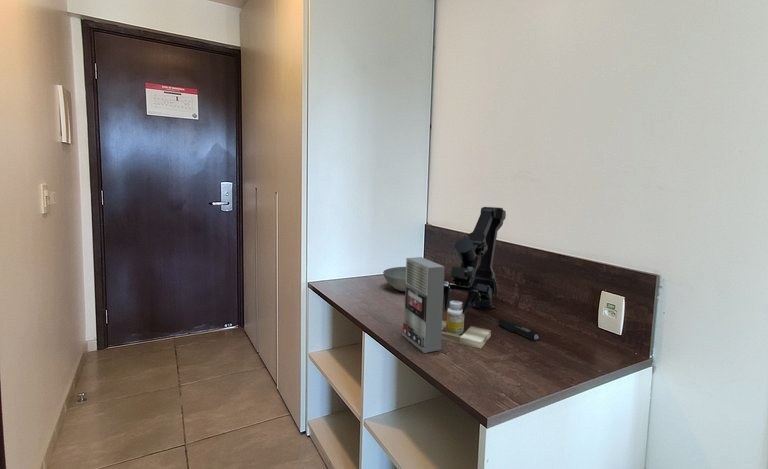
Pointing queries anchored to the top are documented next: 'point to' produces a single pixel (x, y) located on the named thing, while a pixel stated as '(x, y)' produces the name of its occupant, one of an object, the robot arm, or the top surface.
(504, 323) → the electric trimmer
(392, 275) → the bowl
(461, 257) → the robot arm
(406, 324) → the cassette tape recorder
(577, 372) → the top surface
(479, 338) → the notched board
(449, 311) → the supplement bottle
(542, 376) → the top surface
